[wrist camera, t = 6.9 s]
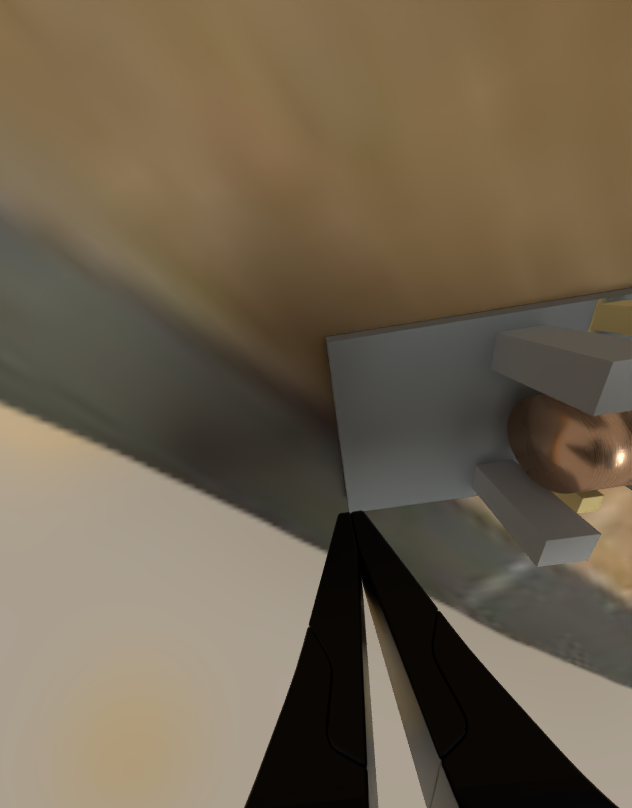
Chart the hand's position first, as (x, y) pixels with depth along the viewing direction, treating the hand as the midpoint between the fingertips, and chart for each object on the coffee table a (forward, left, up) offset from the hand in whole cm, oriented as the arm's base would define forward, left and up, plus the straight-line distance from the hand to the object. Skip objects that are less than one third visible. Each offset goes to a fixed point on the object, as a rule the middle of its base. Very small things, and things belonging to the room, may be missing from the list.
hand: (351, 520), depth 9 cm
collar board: (-10, 0, -6) cm, 12 cm away
